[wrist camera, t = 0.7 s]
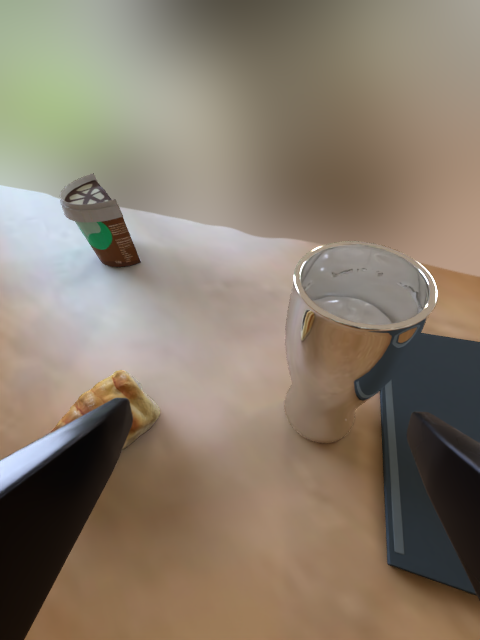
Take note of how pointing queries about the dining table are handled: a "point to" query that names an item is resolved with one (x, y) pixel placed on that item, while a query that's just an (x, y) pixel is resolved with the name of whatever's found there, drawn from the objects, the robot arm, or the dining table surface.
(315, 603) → the dining table surface
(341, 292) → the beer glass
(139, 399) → the pastry
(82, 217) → the food container
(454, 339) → the mat
